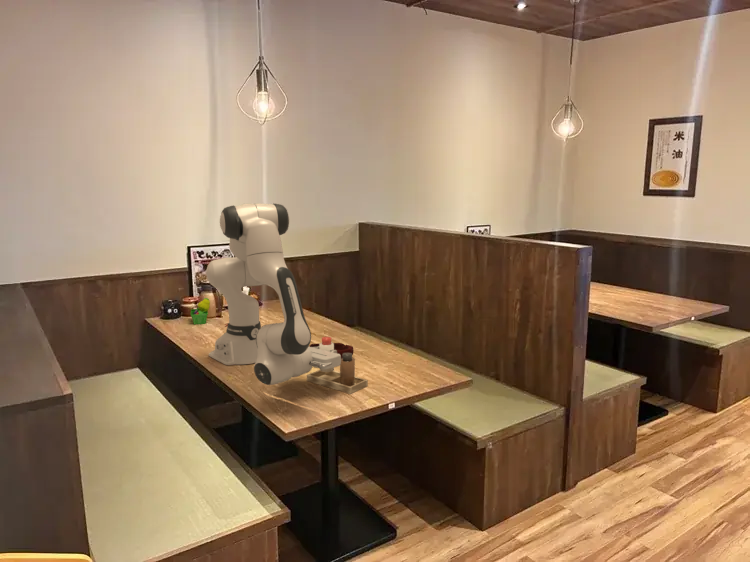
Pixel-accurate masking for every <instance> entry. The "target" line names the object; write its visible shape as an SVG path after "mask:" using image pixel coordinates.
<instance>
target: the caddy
mask: <svg viewBox="0 0 750 562" xmlns="http://www.w3.org/2000/svg"><path fill="white" fill-rule="evenodd" d="M306 382H310V383H313V384H316V385H319V386H323V387H326V388H329V389H332V390H335V391H339V392H343V393H345V394H349V395H351V394H354V393H355V392H358V391H360V390H362V389H364V388H366V387H368V386H369V385H368V383H369V380H368V379H365V378H362V377H359V376H355V385H353V386H346V385H343V384H340V371H337V370H335V369H334V370H333V371H331V372H322V371H320V369H318V370H316V371H313V372H311V373H310V372H309V374H308V373H307V374H306Z"/></svg>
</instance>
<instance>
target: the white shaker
mask: <svg viewBox="0 0 750 562" xmlns="http://www.w3.org/2000/svg"><path fill="white" fill-rule="evenodd" d="M334 343H335V342H332V337H331V336H322V337H321V342H320V344H319V349H321V350H325V351H329V352H330V350H334ZM319 370H320V371H322V372H331V371H333V370H334V371H335V367H334V368H330V369H320V368H319Z"/></svg>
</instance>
